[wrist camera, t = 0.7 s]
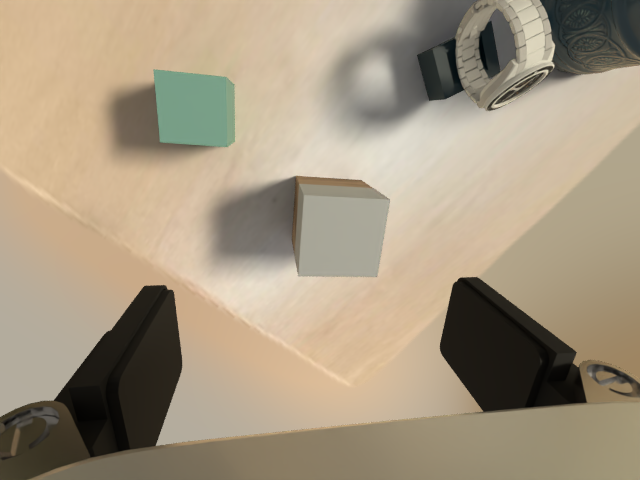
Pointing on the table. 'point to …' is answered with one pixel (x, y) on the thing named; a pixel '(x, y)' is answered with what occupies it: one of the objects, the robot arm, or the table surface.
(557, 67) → the canister
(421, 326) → the table surface
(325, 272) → the top block
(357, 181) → the base block
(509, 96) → the watch
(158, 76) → the stack block
